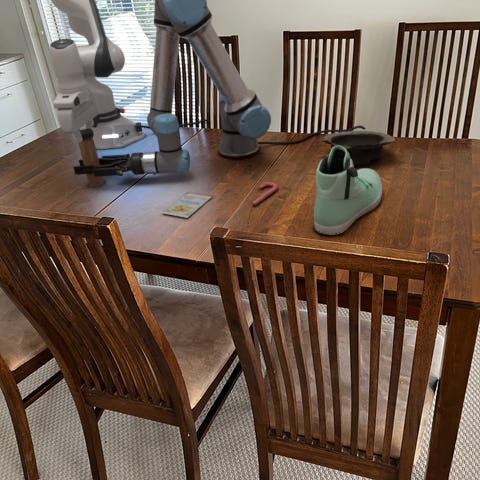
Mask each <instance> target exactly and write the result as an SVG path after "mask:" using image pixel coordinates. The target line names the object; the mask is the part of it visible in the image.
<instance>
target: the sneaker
mask: <svg viewBox="0 0 480 480" xmlns="http://www.w3.org/2000/svg"><path fill="white" fill-rule="evenodd" d="M317 165H318V166H317V168H316V172H315V201H314V207H313V225H314V229H315V231H316V232H318V233H320V234H323V235H326V236H327V235H328V236H336V235H339V234H342V233H344V232H345V231H347V230H348V229H349V228H350V227H351V226H352V225H353V224H354V222H356V221H357V220H358V219H359V218H360V217H362V216H363V215H365V214H367V213H370V212H372V210H374V209H375V208H377V207H378V205H380V203H381V200H382V196H383V184H382V183H383V182H382V179H381V176H380V175H379V173H378V172H377V171H376V170H374V169H372V168H367V167H365V168H358V169H357V168H355V166H353V161H352V159H350V156H349V153H348V152H347V150H346V149H345V148H344V147H342V146H334V147H333V148H332V149H330V151H329V154H327V155H326V156H325V157H324V158H322V159H321V160H320V161H319V163H318V164H317ZM343 230H344V231H343ZM319 231H320V232H319ZM322 232H323V233H322ZM339 232H340V233H339ZM326 233H327V234H326ZM328 233H329V234H328ZM335 233H337V234H335Z"/></svg>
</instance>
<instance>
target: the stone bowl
mask: <svg viewBox="0 0 480 480" xmlns="http://www.w3.org/2000/svg"><path fill="white" fill-rule="evenodd" d="M321 142H322V143H325V144H328V145H329V146H330V148H331V149H332V148H333V147H334V146H342V147H344V148H345V149H346V150H347V152H348V153H349V156H350V159H352V161H353V166H354V167H356V166H359V165H361V166H364V165H368V164H369V163H370V161H371V160H373V161H374V160H375V161H377V160H381V158H382V155H383V149H384V146H387V145H391V144H392V143H393V142H396V138H395V137H393V136H391V135H390V134H388V133H385V132H381V131H373V130H352V131H348V132H345V131H344V132H332V133H330V134H325V135H324V136H323V138H322V140H321ZM331 149H330V150H331Z"/></svg>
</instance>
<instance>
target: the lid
mask: <svg viewBox="0 0 480 480" xmlns="http://www.w3.org/2000/svg"><path fill="white" fill-rule="evenodd" d="M80 133H81V135H83V138H84V139H88V138H91V137H93V136H94V133H93V130H92V129H86V128H83V129H80ZM74 137H75V138H76V136H75V135H74Z"/></svg>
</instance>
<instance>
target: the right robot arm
mask: <svg viewBox="0 0 480 480" xmlns="http://www.w3.org/2000/svg"><path fill="white" fill-rule="evenodd" d="M207 1H208V0H154V8H153V9H154V12H153V25H154V27H155V28H156V29H155V42H154V43H155V44H154V53H153V54H154V55H153V68H152V81H151V94H150V103H149V105H150V106H149V107H150V108H149V112H148V114H147V116H146V122H147V126H149V127H150V129H149V130H150V131H151V132H152V131H153V132H154V133H153V132H152V133H153V135H154V136H155V137H156V140H157V145H158V151H157V150H155V151H153V150H152V151H143V152H132V153H131V154H130V153H126V154H114V155H113V154H112V155H111V154H110V155H109V154H108V155H102V156H101V157H98V158H99V163H100V166H94V165H91V166H84V163H83V159H79V160H78V163H79V165H76V166H75V165H73V171H74V175H75V176H76V175H77V176H79V175H87V174H94V177H99V176H103V177H112V176H113V177H114V176H116V177H117V176H118V177H122V176H124V173H128V172H131V173H132V174H133V175H134V176H143V175H154V176H156V175H158V174H180V173H187V172H189V171H190V168H191V156H190V152H189V150H188V149H183V146H182V140H181V132H180V127H179V125H180V124H179V121H178V117H177V115H175V114H174V113H173V105H174V97H175V96H174V95H175V86H176V77H177V76H176V75H177V65H178V57H179V56H178V55H179V46H180V38H182V39H184V40H185V39H186V40H187V41H188V43H189V45H190V46H191V48H192V50H193V52H194V53H195V55H196V57H197V58H198V60H199V62H200V63H201V65H202V66H203V68H204V69H205V71H206V74H207V75H208V77H209V78H210V79H211V81H212V83H213V84H214V86H215V89H216V90H217V91H218V93H219V96H218V98H219V100H218V104H219V112H220V123H221V133H222V134H221V137H220V143H219V145H218V152H219V155H220V156H222V158H223V157H224V158H227V159H237V160H238V159H246V158H250V157H253V156H255V155H256V154H258V153H259V152H260V145H290V144H298V143H301V142H304V141H305V140H306V139H308V138H310V137H313V136H317V135H320V134H325V133H337V132H344V131H345V132H348V131H355V130H357V129H362V130H363V131H366V127H365V126H364V125H356V126H352V127H350V128H345V129H344V128H343V129H323V130H319V131H315V132H312V133H308V134H307V135H305V136H303V137H302V138H299V139H296V140H289V141H258V139H260V138H261V137H263V136H264V135H265V134H266V133H267V132H268V130H269V129H270V126H271V123H272V116H271V112H270V111H269V110H268V108H267V107H265V106H264V105H263V104H262V103H261V101H260V99H259V97H258V95H257V94H256V92H255V90H253V89H251V88H250V89H249V88H248V87H247V86H246V84H245V82H244V80H243V78H242V76H241V75H240V73H239V71H238V69H237V67H236V66H235V64H234V62H233V60H232V59H231V57H230V55H229V53H228V51H227V49H226V48H225V46H224V44H223V42H222V40H221V39H220V37H219V35H218V33H217V32H216V30H215V28H214V26H213V24H212V20H213V14H212V12H211V10H210V9H209V7H208V2H207Z"/></svg>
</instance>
